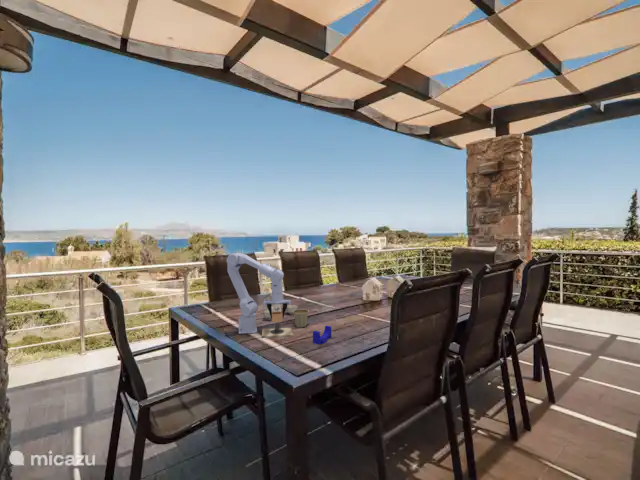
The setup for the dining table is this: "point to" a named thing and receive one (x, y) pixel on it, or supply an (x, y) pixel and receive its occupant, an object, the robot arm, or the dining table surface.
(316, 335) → the cable clip
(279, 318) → the collar
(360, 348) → the dining table surface
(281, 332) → the post plate
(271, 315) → the robot arm
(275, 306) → the chinaware
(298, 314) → the flower pot
